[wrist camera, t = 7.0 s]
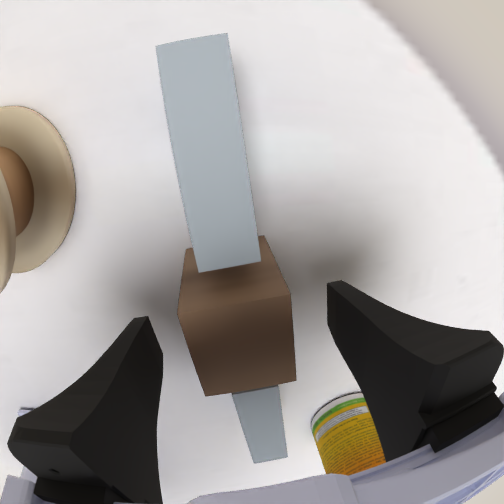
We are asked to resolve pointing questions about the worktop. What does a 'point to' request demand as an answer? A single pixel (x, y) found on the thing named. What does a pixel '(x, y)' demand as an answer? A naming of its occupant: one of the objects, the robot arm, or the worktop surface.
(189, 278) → the block
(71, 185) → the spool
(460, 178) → the worktop surface
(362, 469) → the supplement bottle
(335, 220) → the worktop surface
